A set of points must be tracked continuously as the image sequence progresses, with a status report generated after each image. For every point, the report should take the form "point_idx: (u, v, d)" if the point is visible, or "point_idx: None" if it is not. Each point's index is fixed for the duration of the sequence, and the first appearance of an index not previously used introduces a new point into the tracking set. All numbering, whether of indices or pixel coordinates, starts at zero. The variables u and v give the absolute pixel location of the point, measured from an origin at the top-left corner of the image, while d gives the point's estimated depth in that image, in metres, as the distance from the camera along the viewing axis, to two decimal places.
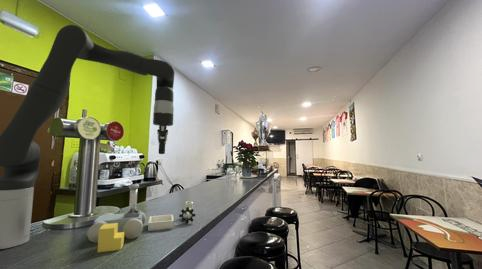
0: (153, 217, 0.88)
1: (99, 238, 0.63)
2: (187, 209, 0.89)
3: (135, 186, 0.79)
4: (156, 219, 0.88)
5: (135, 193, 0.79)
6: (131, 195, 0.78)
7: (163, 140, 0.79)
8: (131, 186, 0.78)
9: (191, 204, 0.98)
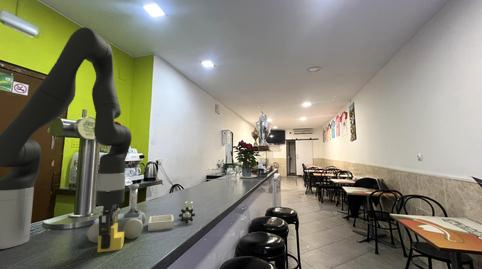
0: (153, 217, 0.88)
1: (99, 238, 0.63)
2: (187, 209, 0.90)
3: (135, 186, 0.79)
4: (156, 219, 0.88)
5: (135, 193, 0.79)
6: (131, 195, 0.78)
7: (105, 234, 0.61)
8: (131, 186, 0.78)
9: (191, 204, 0.98)
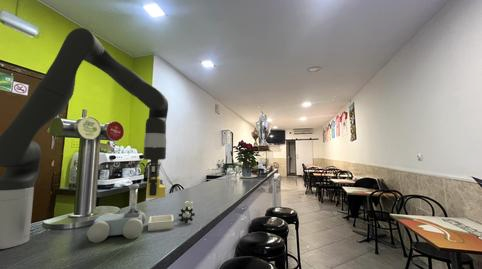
0: (153, 217, 0.88)
1: (147, 186, 0.74)
2: (186, 209, 0.90)
3: (135, 186, 0.79)
4: (156, 219, 0.88)
5: (135, 193, 0.79)
6: (131, 195, 0.78)
7: (154, 181, 0.72)
8: (131, 186, 0.78)
9: (190, 204, 0.99)
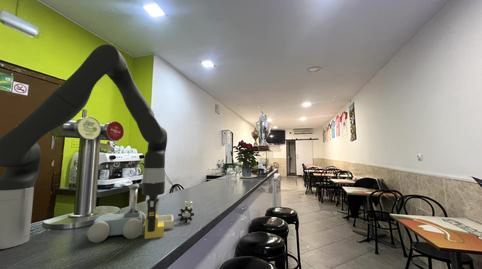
0: None
1: (146, 226, 0.73)
2: (186, 208, 0.91)
3: (135, 186, 0.79)
4: None
5: (135, 193, 0.79)
6: (131, 195, 0.78)
7: (152, 218, 0.70)
8: (131, 186, 0.78)
9: (190, 203, 0.99)
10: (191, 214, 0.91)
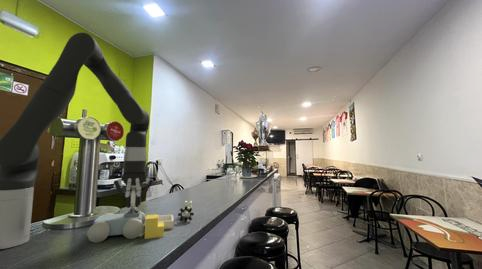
0: None
1: (146, 226, 0.73)
2: (186, 208, 0.91)
3: (135, 186, 0.79)
4: None
5: (135, 193, 0.79)
6: (131, 195, 0.78)
7: None
8: (131, 186, 0.78)
9: (190, 203, 1.00)
10: (191, 214, 0.91)
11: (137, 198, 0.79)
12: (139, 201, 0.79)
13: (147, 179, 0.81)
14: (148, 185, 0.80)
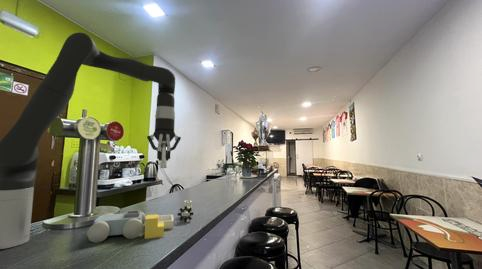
0: None
1: (146, 226, 0.73)
2: (185, 208, 0.91)
3: (166, 141, 0.87)
4: None
5: (165, 148, 0.88)
6: (162, 149, 0.87)
7: None
8: (162, 141, 0.87)
9: (190, 203, 1.00)
10: (190, 213, 0.92)
11: (167, 152, 0.88)
12: (169, 155, 0.88)
13: (176, 136, 0.90)
14: (177, 141, 0.89)
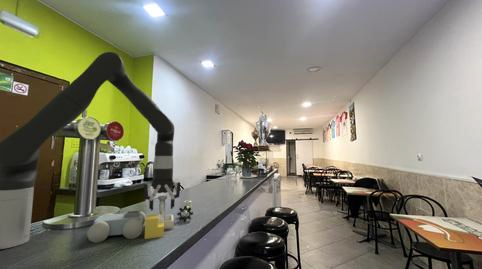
0: None
1: (146, 226, 0.73)
2: (185, 207, 0.92)
3: (164, 197, 0.85)
4: None
5: (164, 204, 0.86)
6: (160, 206, 0.85)
7: None
8: (160, 197, 0.85)
9: (189, 203, 1.01)
10: (190, 213, 0.92)
11: (171, 201, 0.86)
12: (173, 203, 0.87)
13: (175, 183, 0.88)
14: (178, 188, 0.88)
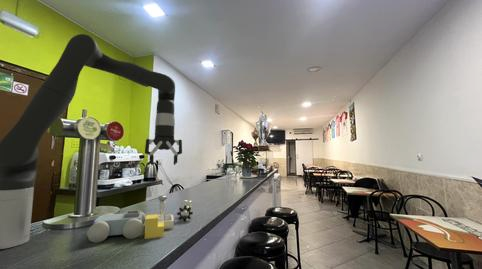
0: None
1: (146, 226, 0.73)
2: (185, 207, 0.92)
3: (164, 197, 0.85)
4: None
5: (164, 204, 0.86)
6: (160, 206, 0.85)
7: (145, 152, 0.85)
8: (160, 197, 0.85)
9: (189, 202, 1.01)
10: (190, 213, 0.93)
11: (174, 156, 0.88)
12: (176, 159, 0.89)
13: (176, 141, 0.90)
14: (180, 145, 0.89)
